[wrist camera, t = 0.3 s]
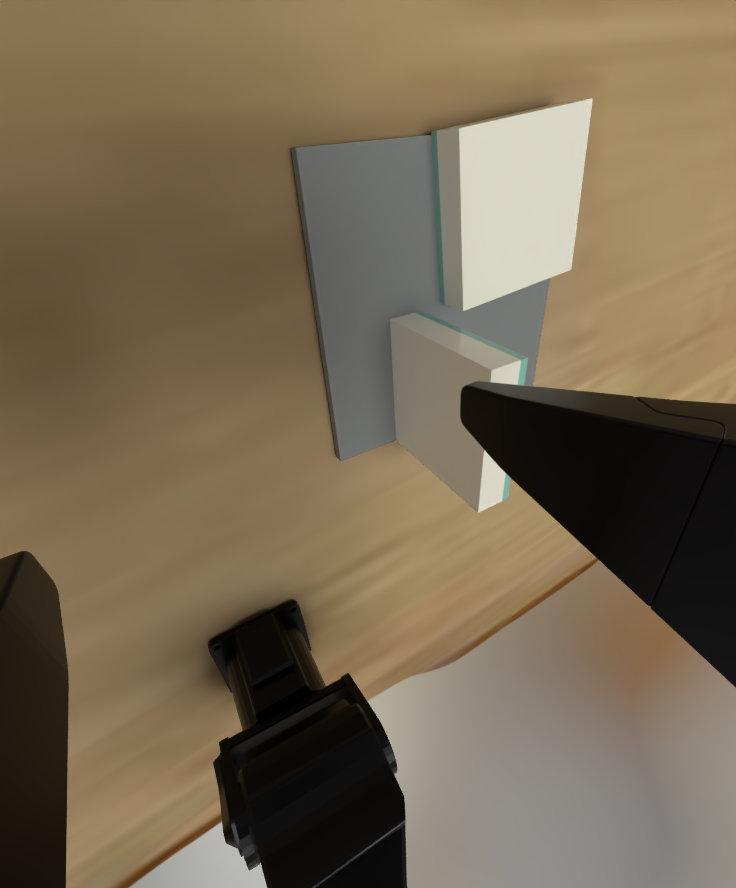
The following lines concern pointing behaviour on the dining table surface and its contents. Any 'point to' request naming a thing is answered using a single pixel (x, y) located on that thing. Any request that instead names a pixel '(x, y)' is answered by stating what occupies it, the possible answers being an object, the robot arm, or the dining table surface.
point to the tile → (448, 401)
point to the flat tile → (508, 200)
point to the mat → (384, 276)
